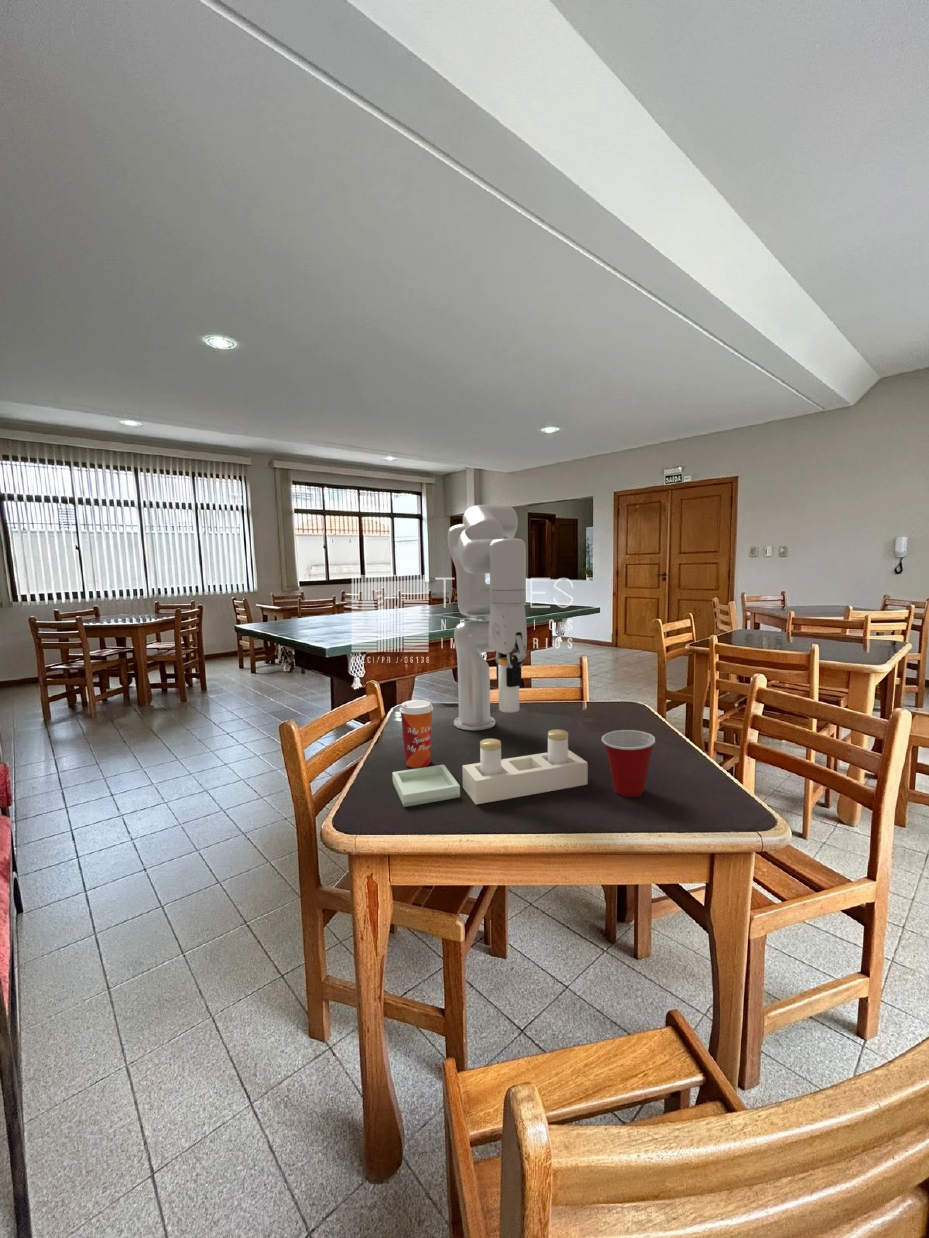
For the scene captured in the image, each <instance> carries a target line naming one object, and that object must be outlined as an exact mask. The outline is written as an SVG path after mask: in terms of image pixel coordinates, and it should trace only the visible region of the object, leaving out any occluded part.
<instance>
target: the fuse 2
mask: <svg viewBox="0 0 929 1238" xmlns="http://www.w3.org/2000/svg"><path fill="white" fill-rule="evenodd" d="M568 750H569V732H568V731H566V730H564V729H551V730H548V732H547V752H548V762H549V763H550V764H552V765H558V764H564V763H568Z"/></svg>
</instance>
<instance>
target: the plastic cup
mask: <svg viewBox="0 0 929 1238" xmlns="http://www.w3.org/2000/svg"><path fill="white" fill-rule="evenodd" d="M601 743H603V745H604V748H605V750H606V753H607V754H606V755H607V760H608V766H609V770H610V776H611V780H612V781H611V782H612V787H613V790H614V792H615V793H616V794H618V795H619V796H621V797H627V798H637V797H641V796H642V795H643V792H644V789H645V784H646V780H647V777H648V776H647V774H648V771H649V770H648V769H649V764H650V759H651V755H652V750H653V747H654V745H655V743H656V737H655V736H654V735H653V734H652V733H649V732H646V731H644V730H643V731H641V730H635V729H622V730H613V731H609V732H606V733H605V734H604V735H602V736H601Z"/></svg>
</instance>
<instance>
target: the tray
mask: <svg viewBox="0 0 929 1238" xmlns="http://www.w3.org/2000/svg"><path fill="white" fill-rule="evenodd" d="M391 776H392V785H393V786H394V788H395V791H396V793H397V796H398V798H399V800H400V802H401V804H402V806H403V808H405V807H406V808H407V807H411V806H418V805H423V804H429V803H435V802H440V801H446V800H452V799H457V798H458V799H459V798H461V786H460V784H459V783H458V781H457V780H456V779H455V777H454V776H453V775H452V773H451V772H450V770H449V769H448V768H447V767H446V765H445V764H439V765H438V764H437V765H431V766H425V767H421V768H411V769H405V770H398V771H393V772H392V775H391Z"/></svg>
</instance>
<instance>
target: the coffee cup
mask: <svg viewBox="0 0 929 1238" xmlns="http://www.w3.org/2000/svg"><path fill="white" fill-rule="evenodd" d="M433 710H434V706H433V704H432V703H431V701H428V700H424V699H423V700H422V699H413V700H406V701H404V702H402V703H401V705H400V708H399V712H400V718H401V727H402V728H401V729H402V730H401V731H402V738H403V739H402V740H403V749H404V750H403V751H404V759H405V761H404V762H405V765H406V766H407V767H408V768H411V769H417V768H424V767H429V765H430V764H431V753H432V751H431V749H432V723H433V722H432V719H433Z"/></svg>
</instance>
